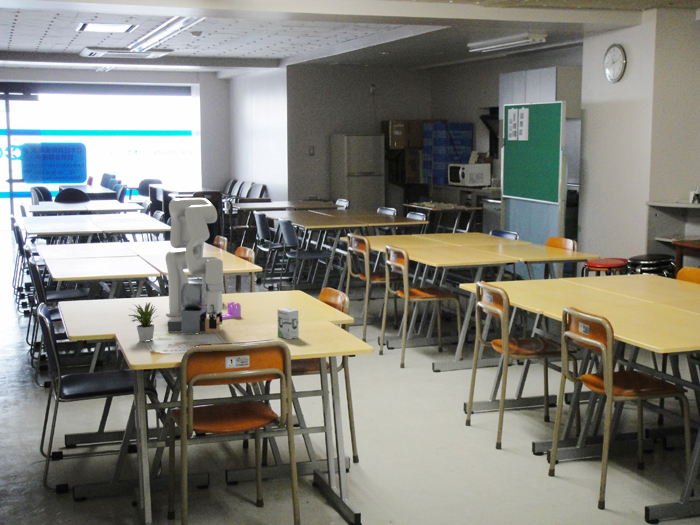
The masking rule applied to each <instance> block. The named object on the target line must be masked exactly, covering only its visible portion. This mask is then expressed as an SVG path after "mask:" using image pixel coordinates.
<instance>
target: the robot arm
mask: <svg viewBox="0 0 700 525" xmlns="http://www.w3.org/2000/svg"><path fill="white" fill-rule="evenodd" d="M168 210H169V216H170V220H171V222H170V238H169V239H170V245H171V247H172V248H174V249H172V250H170V251H168V252H167V253H166V254H165V265H166V270H167V277H168V278H167V279H168V281H167V282H168V302H169V303H168V304H169V306H168V307H169V310H168V311H166V316H168V317H181V310H183V309H184V308H183V307H182V304H181V289H182V286H183V284H184V283H190V281H189V276H188V274H186V272H185V271H184V270H187V269H188V272H189V273H190V275H193V276H202V274H206V291H207V305H206V306H207V315H208V317H209V328H210V329H216V328H217V319H216V317H219V322H222V323H223V320H222V314H223V291H224V288H225V287H224V263H223V260H222V259H220V258H218V257H216V256H203V255H204V245H205V242H206V241H208V239H210V230H209V227H208V224H214V223H216V222H217V219H218V212H217V209H216V207H215V205H214V204H213V203H212V202H210V201H209V200H208V199H207V198H205V197H182V198H180V197H179V198H174V199H171V200H170V201H169V204H168Z"/></svg>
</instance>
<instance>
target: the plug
mask: <svg viewBox="0 0 700 525" xmlns="http://www.w3.org/2000/svg"><path fill="white" fill-rule="evenodd" d="M216 319H217V328H216V329H210V328H209V316H207V318H206V319H205V320H200V325H201V333H211V332H214V334H215V333H216V334H217V333H218V332H219V331H220V329H221V328H220V327H221V325H223V321H222V322H219V317H216ZM168 331H181V319H169V320H168V321H167V332H168Z"/></svg>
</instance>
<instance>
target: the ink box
mask: <svg viewBox="0 0 700 525" xmlns="http://www.w3.org/2000/svg"><path fill="white" fill-rule="evenodd" d="M277 337H278V338H282V337H283V339H286V338H288V339H287V340H293V339H292V338H295V339H298V338H297V337H299V310H297V309H294V308H291V307H284V308H279V309H277Z"/></svg>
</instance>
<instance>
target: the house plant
mask: <svg viewBox="0 0 700 525" xmlns="http://www.w3.org/2000/svg"><path fill="white" fill-rule="evenodd" d="M133 305H134V306H135V307H136V309H134V308H131V307H129V310H132V311H133V312H137V313H136V314H135V313H134V314H128V316H130V317H131V322H132V323H134V322H138V323H139V324H138V325H137V326H136V329H137V335H138V338H139V339H138V340H139V342H141V341H146V340H151V339H153V337H154V331H155V324H151V323H152V322H154V321H153V320H152V316H153V314H154V313H155V312H156V311H157V308H155V306H156V305H155V306H153V304H152V302H151V301H150V302H145V306H144V309H143V308H142V306H141V305H140V304H138V306H137V305H136V304H134V303H133V304H132V306H133ZM150 306H151V307H150ZM156 317H158V315H156V316H154V317H153V319H155V318H156ZM153 340H154V339H153Z"/></svg>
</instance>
